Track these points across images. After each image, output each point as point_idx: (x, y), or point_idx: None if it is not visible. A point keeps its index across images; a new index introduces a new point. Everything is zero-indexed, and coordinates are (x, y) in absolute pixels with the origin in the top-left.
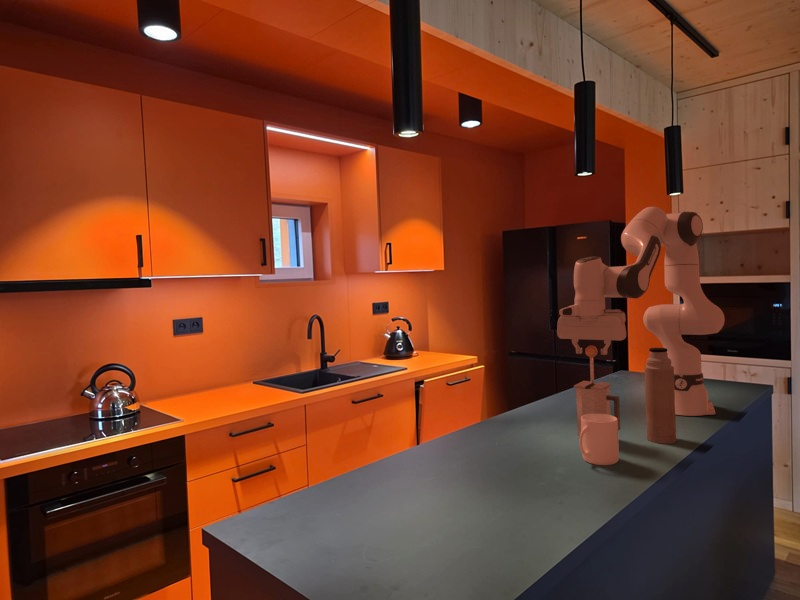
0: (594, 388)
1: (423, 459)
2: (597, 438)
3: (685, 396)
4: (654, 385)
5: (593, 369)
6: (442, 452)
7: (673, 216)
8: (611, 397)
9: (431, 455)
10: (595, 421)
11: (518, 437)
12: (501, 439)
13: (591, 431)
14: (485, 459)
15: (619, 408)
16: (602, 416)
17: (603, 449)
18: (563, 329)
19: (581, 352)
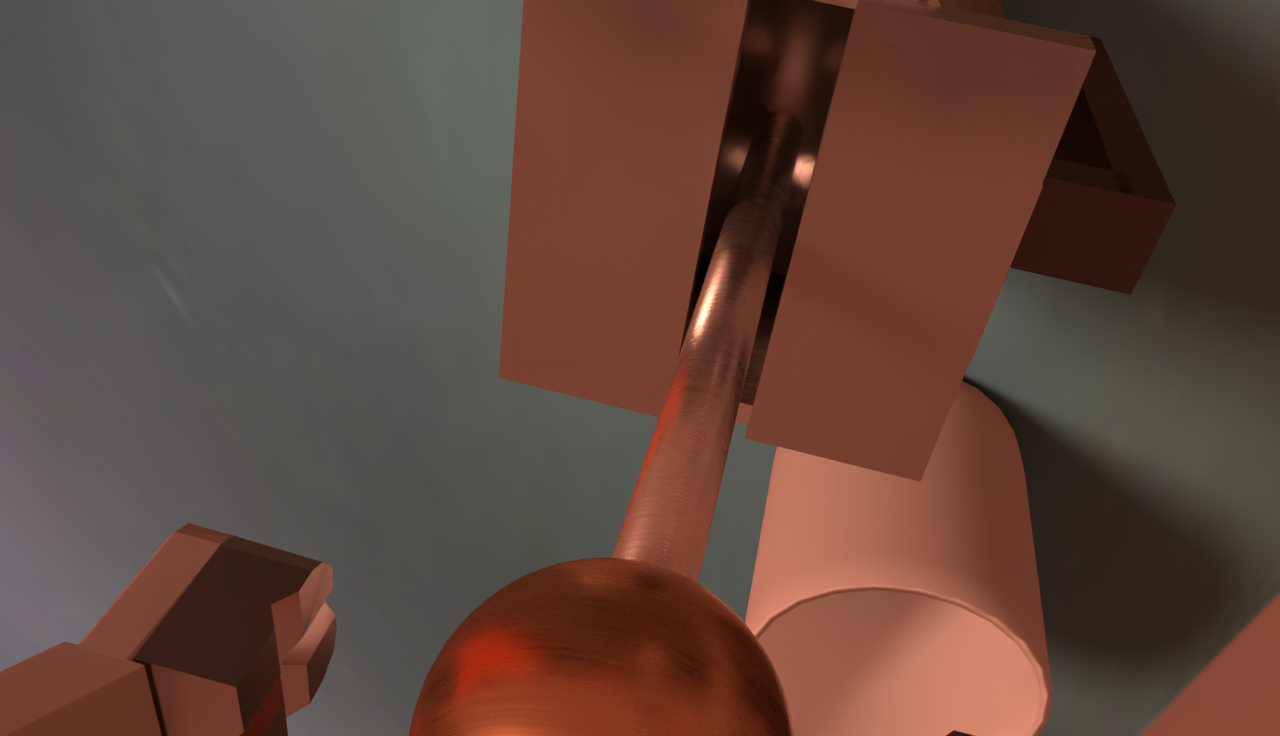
0: (804, 441)
1: (55, 591)
2: (881, 676)
3: None
4: None
5: (736, 415)
6: (47, 500)
7: None
8: (1046, 273)
9: (40, 543)
10: (852, 539)
11: (222, 127)
12: (151, 210)
13: (837, 705)
14: (289, 550)
15: (1140, 132)
16: (916, 576)
17: (920, 618)
18: None
19: (317, 613)
